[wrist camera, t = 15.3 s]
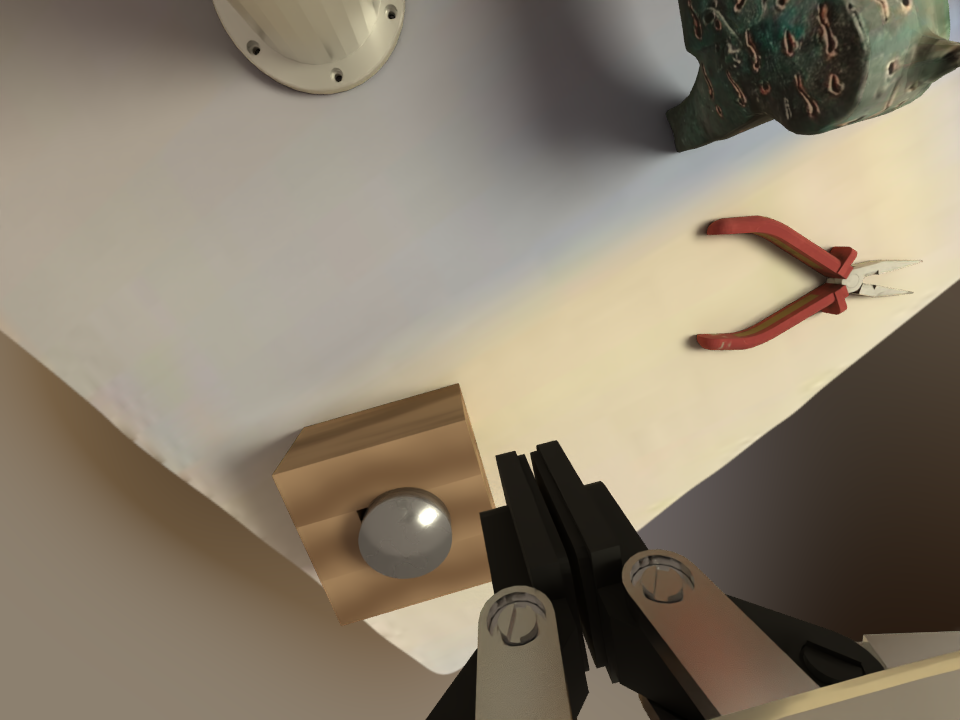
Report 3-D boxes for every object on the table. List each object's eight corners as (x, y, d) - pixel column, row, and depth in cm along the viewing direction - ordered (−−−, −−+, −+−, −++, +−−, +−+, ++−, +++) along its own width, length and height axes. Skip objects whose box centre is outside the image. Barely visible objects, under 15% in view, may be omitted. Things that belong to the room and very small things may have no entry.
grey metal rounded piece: (363, 455, 39) (345, 515, 30) (436, 434, 39) (437, 488, 31) (387, 517, 41) (375, 589, 32) (456, 497, 41) (462, 563, 33)
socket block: (303, 427, 39) (271, 475, 31) (458, 383, 39) (465, 419, 31) (357, 555, 43) (341, 626, 35) (497, 514, 43) (511, 575, 35)
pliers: (889, 336, 43) (917, 342, 40) (690, 348, 41) (706, 355, 38) (916, 210, 40) (949, 208, 37) (702, 217, 38) (721, 216, 35)
